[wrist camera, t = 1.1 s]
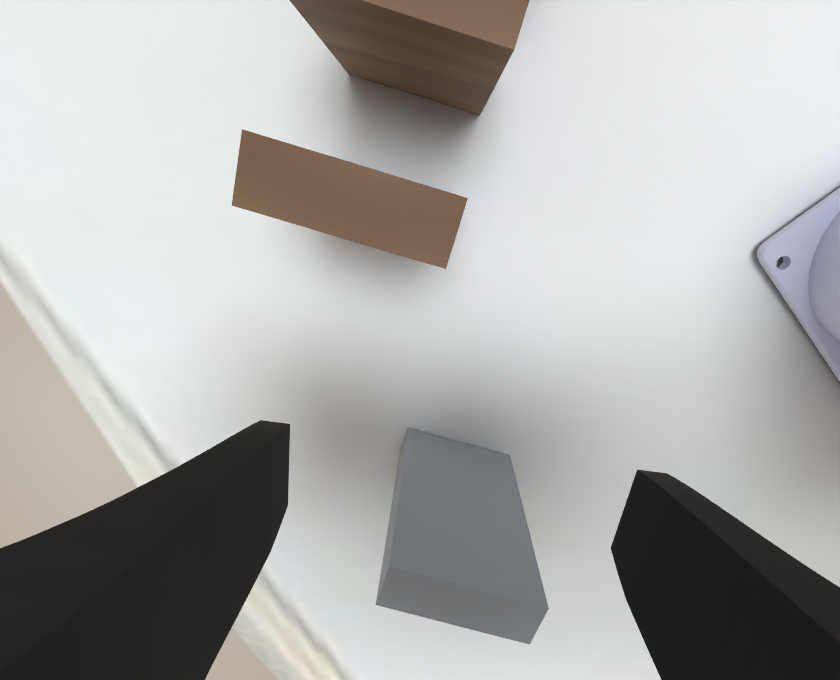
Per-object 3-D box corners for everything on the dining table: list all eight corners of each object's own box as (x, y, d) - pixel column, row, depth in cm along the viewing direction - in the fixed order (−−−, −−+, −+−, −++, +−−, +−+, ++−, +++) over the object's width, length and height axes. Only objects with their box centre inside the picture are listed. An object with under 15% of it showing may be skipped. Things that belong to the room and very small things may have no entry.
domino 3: (498, 482, 21) (529, 644, 14) (399, 455, 21) (375, 604, 13) (509, 455, 21) (548, 608, 13) (408, 427, 21) (388, 566, 13)
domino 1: (479, 115, 16) (513, 49, 9) (348, 73, 16) (264, -32, 8) (494, 67, 16) (544, -49, 8) (358, 24, 15) (278, -138, 8)
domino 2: (443, 235, 18) (445, 268, 10) (323, 198, 17) (231, 205, 10) (455, 194, 17) (467, 198, 9) (331, 156, 17) (242, 129, 9)
